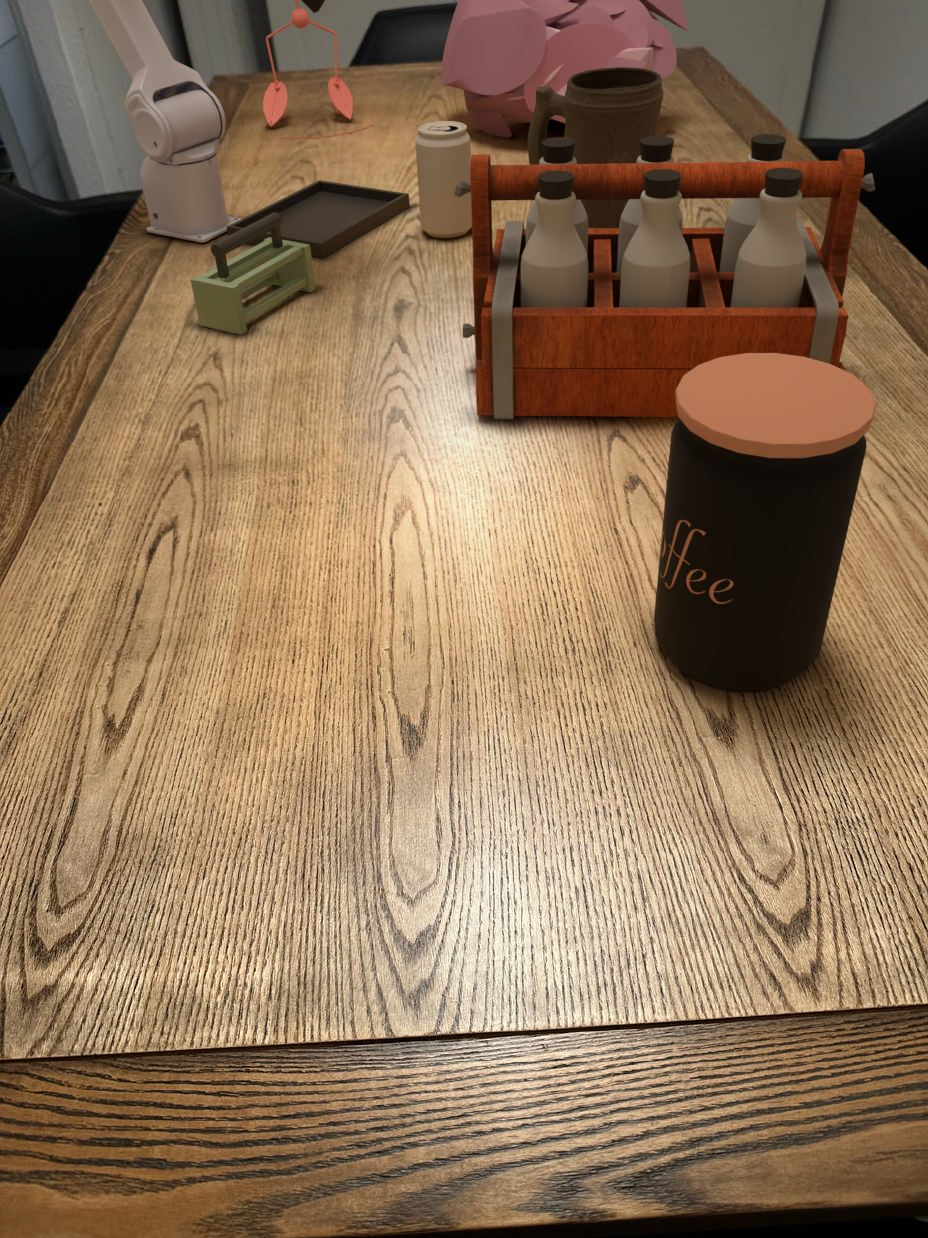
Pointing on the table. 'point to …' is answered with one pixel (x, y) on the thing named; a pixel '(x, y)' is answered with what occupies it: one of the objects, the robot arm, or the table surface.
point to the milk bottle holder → (650, 275)
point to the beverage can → (443, 178)
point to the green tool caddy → (251, 276)
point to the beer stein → (601, 124)
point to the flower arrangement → (548, 49)
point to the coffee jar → (757, 515)
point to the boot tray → (328, 215)
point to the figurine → (277, 91)
